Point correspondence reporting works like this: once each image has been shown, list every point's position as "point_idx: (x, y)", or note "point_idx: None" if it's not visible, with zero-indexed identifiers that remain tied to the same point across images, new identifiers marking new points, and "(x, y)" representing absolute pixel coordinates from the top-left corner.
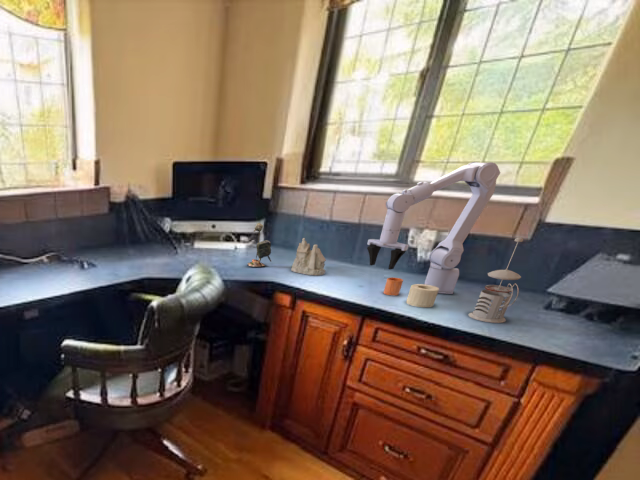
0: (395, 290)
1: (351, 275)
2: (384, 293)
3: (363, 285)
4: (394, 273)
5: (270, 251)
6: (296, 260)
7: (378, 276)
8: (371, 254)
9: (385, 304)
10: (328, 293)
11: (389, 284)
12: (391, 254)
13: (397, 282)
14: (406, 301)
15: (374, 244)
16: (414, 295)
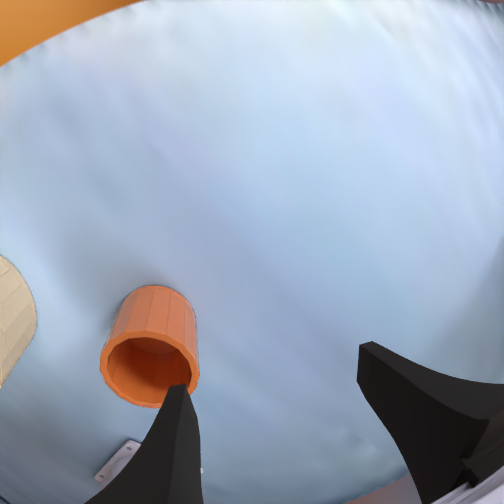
0: (114, 320)
1: (448, 353)
2: (165, 287)
3: (340, 302)
4: (364, 476)
5: None
6: None
7: (380, 430)
8: (430, 388)
9: (17, 138)
10: (311, 2)
11: (138, 314)
12: (162, 492)
13: (103, 347)
14: (13, 268)
15: (492, 473)
16: None
